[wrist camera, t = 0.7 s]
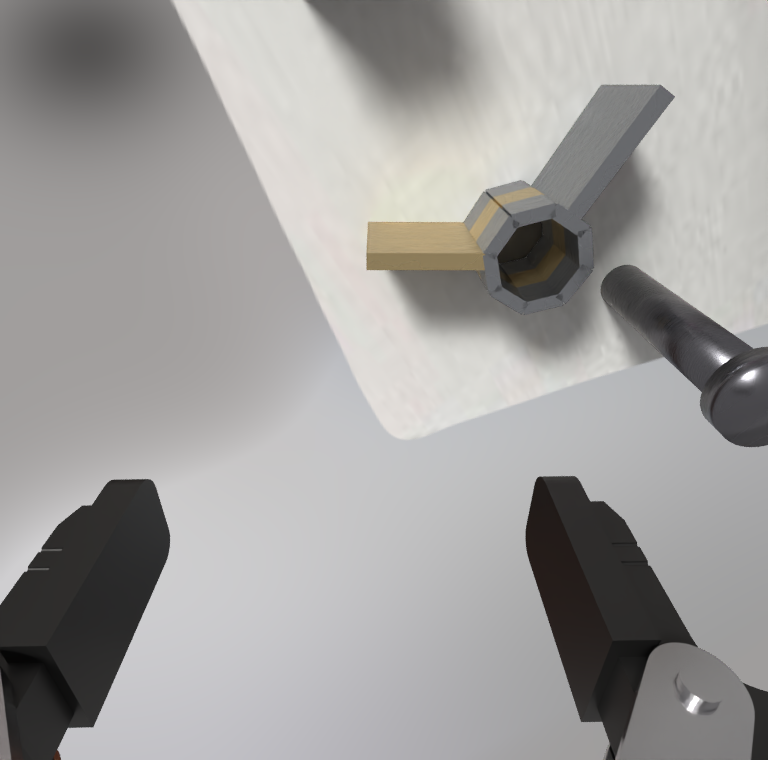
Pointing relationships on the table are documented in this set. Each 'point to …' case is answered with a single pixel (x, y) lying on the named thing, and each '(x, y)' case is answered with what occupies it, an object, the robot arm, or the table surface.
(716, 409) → the hinge pin
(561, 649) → the robot arm
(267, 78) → the table surface
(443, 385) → the table surface
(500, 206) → the hinge
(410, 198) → the table surface
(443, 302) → the table surface
